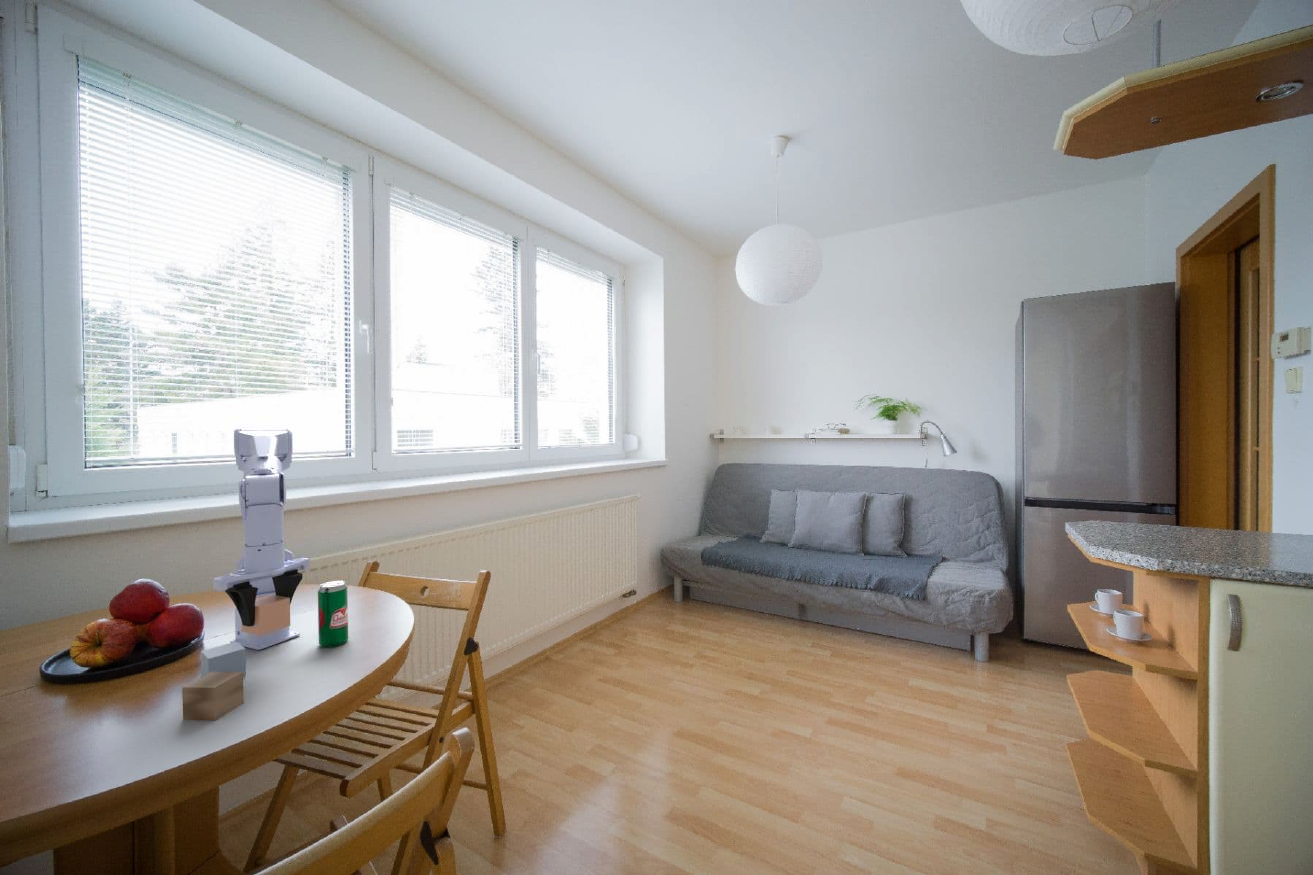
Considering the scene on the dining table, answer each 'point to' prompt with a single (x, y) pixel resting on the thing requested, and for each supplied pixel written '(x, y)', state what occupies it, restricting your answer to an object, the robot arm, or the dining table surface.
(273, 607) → the terracotta block
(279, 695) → the dining table surface
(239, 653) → the slate blue block
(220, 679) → the walnut block
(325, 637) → the soda can
